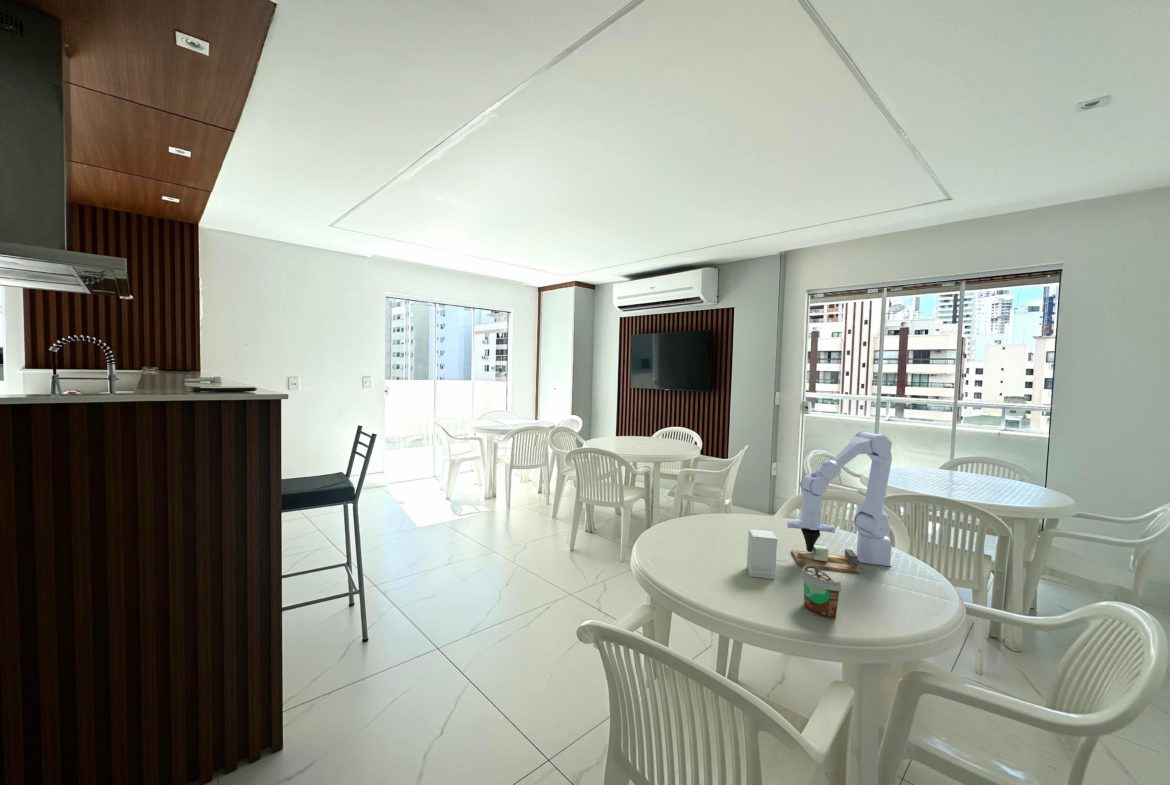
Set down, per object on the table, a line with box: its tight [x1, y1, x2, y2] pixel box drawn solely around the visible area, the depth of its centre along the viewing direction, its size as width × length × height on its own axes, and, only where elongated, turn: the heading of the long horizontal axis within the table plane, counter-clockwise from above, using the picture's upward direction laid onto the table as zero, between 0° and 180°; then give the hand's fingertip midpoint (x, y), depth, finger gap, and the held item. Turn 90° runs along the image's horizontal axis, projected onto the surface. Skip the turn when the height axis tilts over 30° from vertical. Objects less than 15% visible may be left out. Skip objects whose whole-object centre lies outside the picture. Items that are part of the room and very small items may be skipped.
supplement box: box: [746, 528, 778, 580], centre depth 140 cm, size 7×7×13 cm
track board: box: [791, 548, 861, 575], centre depth 151 cm, size 18×12×4 cm, turn 75°
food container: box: [800, 563, 842, 619], centre depth 119 cm, size 12×6×10 cm, turn 5°
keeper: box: [811, 543, 829, 561], centre depth 151 cm, size 4×4×4 cm
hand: (809, 550), depth 152 cm, fingers closed
